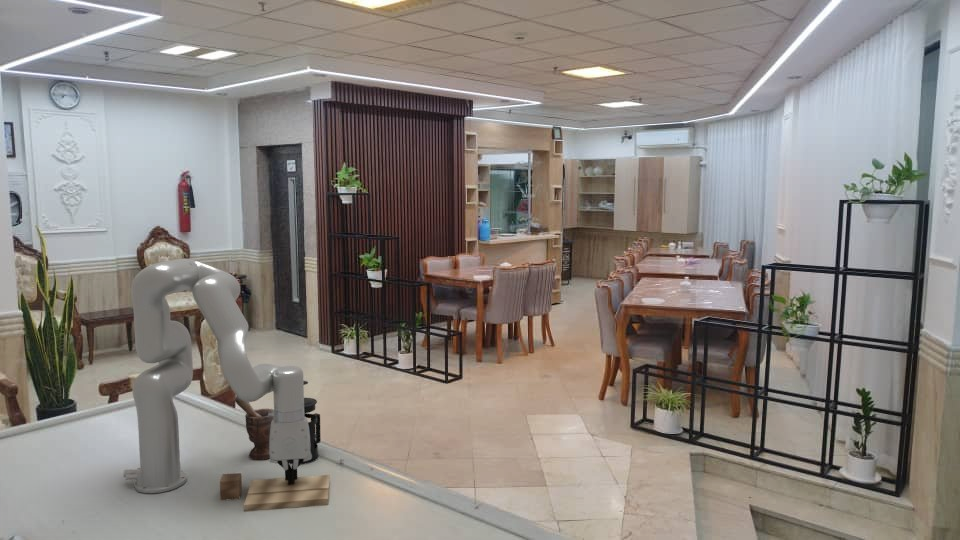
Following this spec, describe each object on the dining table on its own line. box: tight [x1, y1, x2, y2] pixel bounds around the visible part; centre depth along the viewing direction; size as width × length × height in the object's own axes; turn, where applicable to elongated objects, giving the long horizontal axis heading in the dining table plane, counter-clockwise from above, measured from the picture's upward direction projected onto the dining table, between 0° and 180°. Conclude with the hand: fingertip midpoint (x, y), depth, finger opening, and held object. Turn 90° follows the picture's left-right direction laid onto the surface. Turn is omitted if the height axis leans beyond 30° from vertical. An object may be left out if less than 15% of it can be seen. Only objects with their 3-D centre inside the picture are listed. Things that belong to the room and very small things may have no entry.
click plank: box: [247, 474, 330, 494], centre depth 173 cm, size 20×7×2 cm, turn 101°
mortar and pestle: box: [234, 395, 274, 461], centre depth 194 cm, size 12×9×20 cm
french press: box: [288, 380, 322, 465], centre depth 194 cm, size 12×9×23 cm
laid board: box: [243, 487, 330, 512], centre depth 166 cm, size 20×6×2 cm, turn 101°
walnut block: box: [219, 472, 243, 501], centre depth 170 cm, size 4×4×5 cm
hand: (291, 482), depth 174 cm, fingers closed
